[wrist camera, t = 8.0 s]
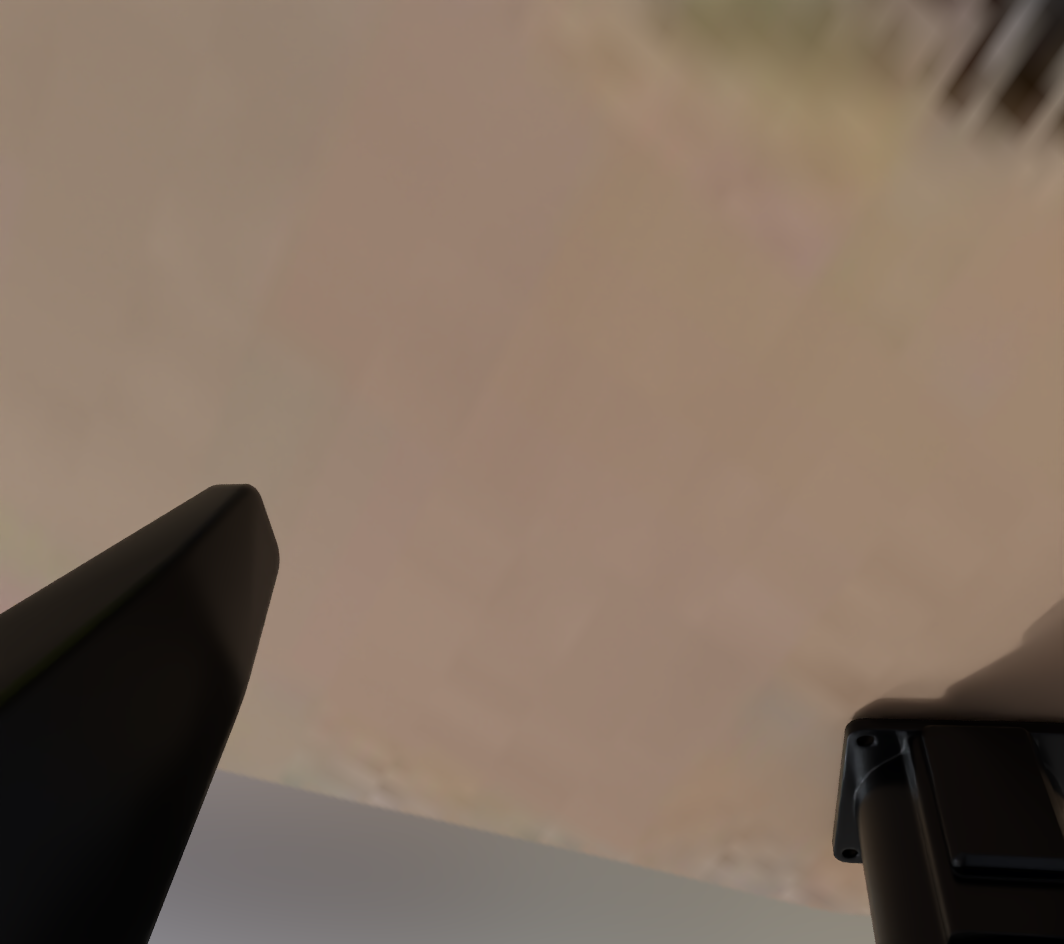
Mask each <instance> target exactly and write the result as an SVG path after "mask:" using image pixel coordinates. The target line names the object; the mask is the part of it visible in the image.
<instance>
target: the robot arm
mask: <svg viewBox="0 0 1064 944" xmlns="http://www.w3.org/2000/svg"><path fill="white" fill-rule="evenodd" d="M278 569H279V549H278V545H277V542H276V539H275V536H274V533H273V530H272V527H271V524H270V521H269V518H268V516H267V513H266V510H265V507H264V504H263V501H262V498H261V496H260V494H259V492H258V491H257V489H256V488H254V487H253V486H251V485H249V484H221V485H214V486H211V487H209V488H207V489H206V490H204V491H203V492H201V493H199V494H198V495H196V496H194V497H193V498H191V499H189V500H188V501H186V502H184V503H183V504H181V505H179V506H178V507H176V508H175V509H173V510H171V511H170V512H168V513H166V514H165V515H163V516H161V517H160V518H158V519H156V520H155V521H153V522H151V523H150V524H148V525H147V526H145V527H143V528H142V529H140V530H138V531H137V532H135V533H133V534H132V535H130V536H128V537H127V538H125V539H123V540H122V541H120V542H119V543H117V544H115V545H114V546H112V547H110V548H109V549H107V550H105V551H104V552H102V553H100V554H99V555H97V556H95V557H94V558H92V559H91V560H89V561H87V562H86V563H84V564H82V565H81V566H79V567H77V568H76V569H74V570H72V571H71V572H69V573H67V574H66V575H64V576H63V577H61V578H59V579H58V580H56V581H54V582H53V583H51V584H49V585H48V586H46V587H44V588H43V589H41V590H39V591H38V592H36V593H35V594H33V595H31V596H30V597H28V598H26V599H25V600H23V601H21V602H20V603H18V604H16V605H15V606H13V607H11V608H10V609H8V610H7V611H5V612H3V613H2V614H0V944H148V941H149V939H150V936H151V934H152V931H153V929H154V926H155V923H156V921H157V918H158V916H159V913H160V911H161V908H162V906H163V903H164V901H165V898H166V896H167V893H168V890H169V888H170V885H171V883H172V880H173V877H174V875H175V873H176V870H177V868H178V865H179V862H180V860H181V857H182V855H183V852H184V850H185V847H186V845H187V842H188V840H189V837H190V834H191V832H192V829H193V827H194V824H195V822H196V819H197V817H198V814H199V811H200V809H201V806H202V804H203V801H204V799H205V796H206V794H207V791H208V789H209V786H210V783H211V781H212V778H213V776H214V773H215V771H216V768H217V766H218V763H219V761H220V758H221V756H222V753H223V751H224V748H225V745H226V743H227V740H228V738H229V735H230V733H231V730H232V728H233V725H234V723H235V720H236V717H237V715H238V712H239V709H240V706H241V704H242V701H243V698H244V695H245V692H246V689H247V685H248V682H249V679H250V675H251V671H252V668H253V664H254V660H255V656H256V653H257V649H258V645H259V641H260V638H261V634H262V630H263V626H264V623H265V619H266V615H267V611H268V608H269V604H270V600H271V596H272V592H273V589H274V585H275V581H276V577H277V574H278ZM832 845H833V852H834V856H835V857H836V858H837V859H838V860H840V861H842V862H847V863H863V868H864V874H865V880H866V886H867V893H868V899H869V905H870V911H871V917H872V923H873V929H874V935H875V942H876V944H1064V723H1048V722H1004V721H961V720H917V719H874V718H863V719H856V720H854V721H851V722H850V723H849V724H848V725H847V726H846V729H845V735H844V743H843V752H842V760H841V769H840V778H839V786H838V795H837V803H836V812H835V821H834V829H833V838H832Z"/></svg>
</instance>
